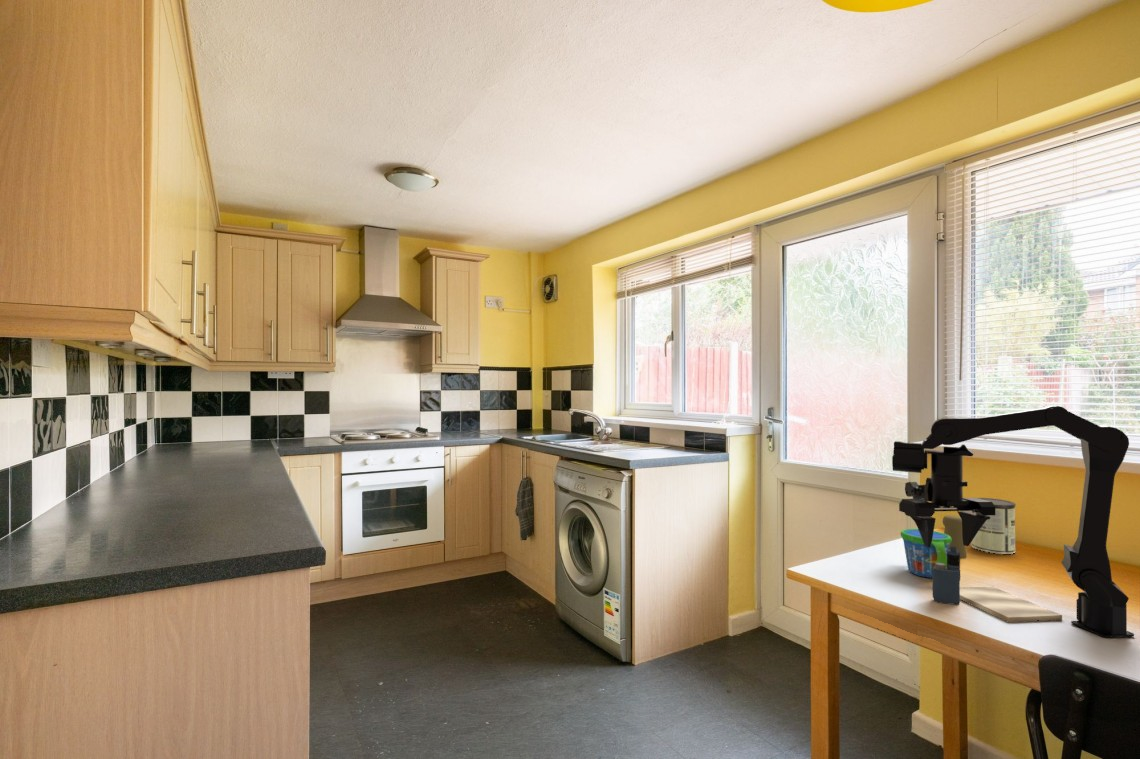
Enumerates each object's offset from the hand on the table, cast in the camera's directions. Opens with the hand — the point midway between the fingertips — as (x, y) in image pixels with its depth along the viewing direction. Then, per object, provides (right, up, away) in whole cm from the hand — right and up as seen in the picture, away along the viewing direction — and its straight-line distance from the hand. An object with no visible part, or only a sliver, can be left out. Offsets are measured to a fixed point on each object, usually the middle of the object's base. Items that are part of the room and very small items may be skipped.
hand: (946, 546), depth 120 cm
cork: (+25, -13, +34) cm, 44 cm away
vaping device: (0, -12, 0) cm, 12 cm away
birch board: (+10, -12, -2) cm, 16 cm away
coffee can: (+41, -13, +40) cm, 58 cm away
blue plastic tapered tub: (+7, -13, +18) cm, 23 cm away
